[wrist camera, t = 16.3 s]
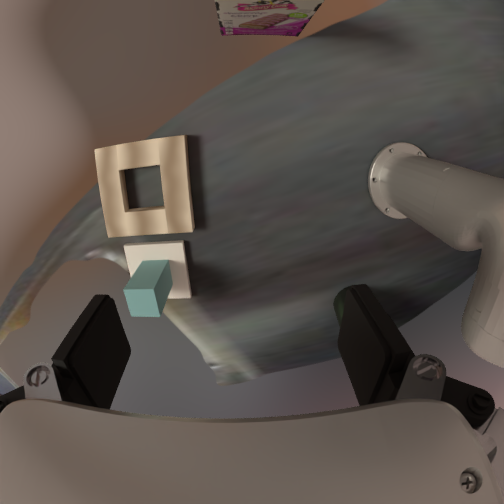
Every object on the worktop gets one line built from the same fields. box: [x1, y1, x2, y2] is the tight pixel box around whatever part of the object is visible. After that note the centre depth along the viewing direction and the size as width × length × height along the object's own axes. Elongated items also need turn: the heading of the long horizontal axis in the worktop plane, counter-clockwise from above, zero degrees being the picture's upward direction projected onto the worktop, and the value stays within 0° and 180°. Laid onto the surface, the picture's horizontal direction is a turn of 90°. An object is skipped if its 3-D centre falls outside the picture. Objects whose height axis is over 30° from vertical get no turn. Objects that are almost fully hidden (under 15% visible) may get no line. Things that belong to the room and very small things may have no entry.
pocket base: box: [95, 135, 195, 237], centre depth 39 cm, size 14×14×2 cm
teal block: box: [124, 260, 173, 317], centre depth 41 cm, size 4×4×9 cm
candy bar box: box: [215, 0, 324, 36], centre depth 23 cm, size 11×5×16 cm, turn 91°
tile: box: [124, 240, 192, 298], centre depth 45 cm, size 10×10×1 cm
